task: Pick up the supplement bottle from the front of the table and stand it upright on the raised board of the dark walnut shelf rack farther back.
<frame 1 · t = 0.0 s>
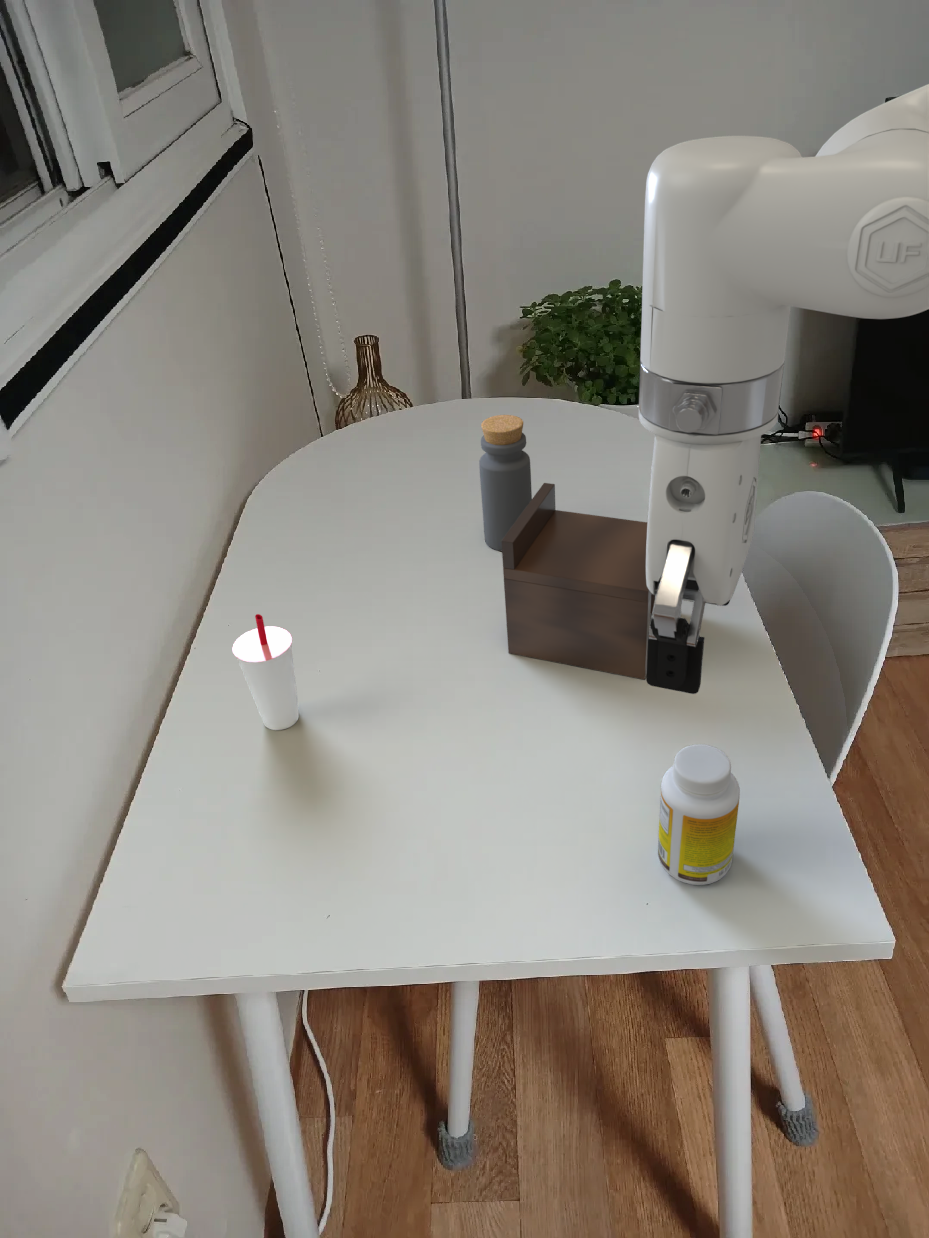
hand: (690, 641, 62), 21 cm above the table, tool pointing down, fingers open, 9 cm apart
shelf: (592, 631, 98), on the table
supplement bottle: (693, 861, 73), on the table
cup: (281, 719, 91), on the table
bottle: (509, 540, 115), on the table
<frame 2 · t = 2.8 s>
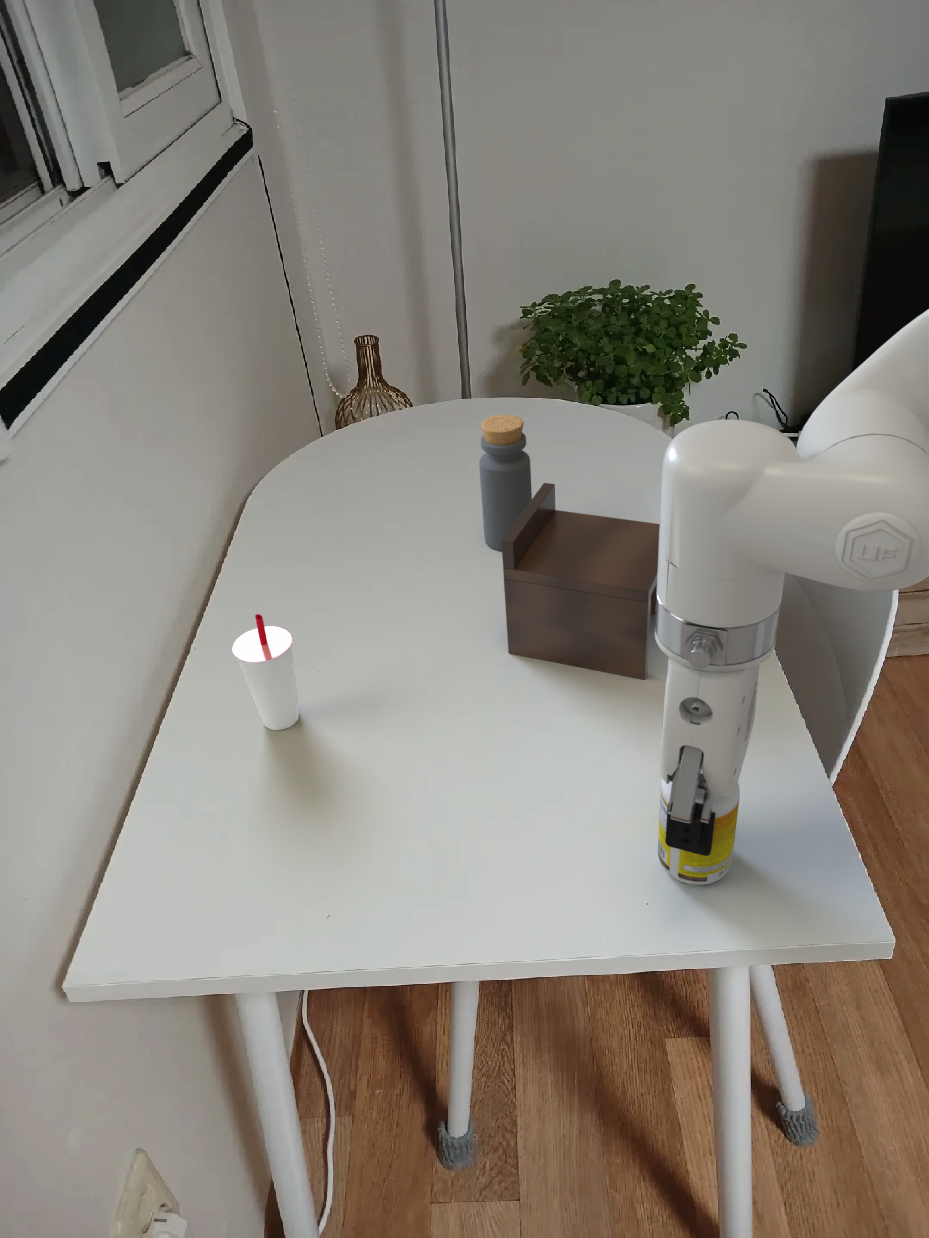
hand: (697, 814, 70), 5 cm above the table, tool pointing down, fingers closed on supplement bottle, 5 cm apart
supplement bottle: (693, 861, 73), on the table, touching gripper
everything else where it was.
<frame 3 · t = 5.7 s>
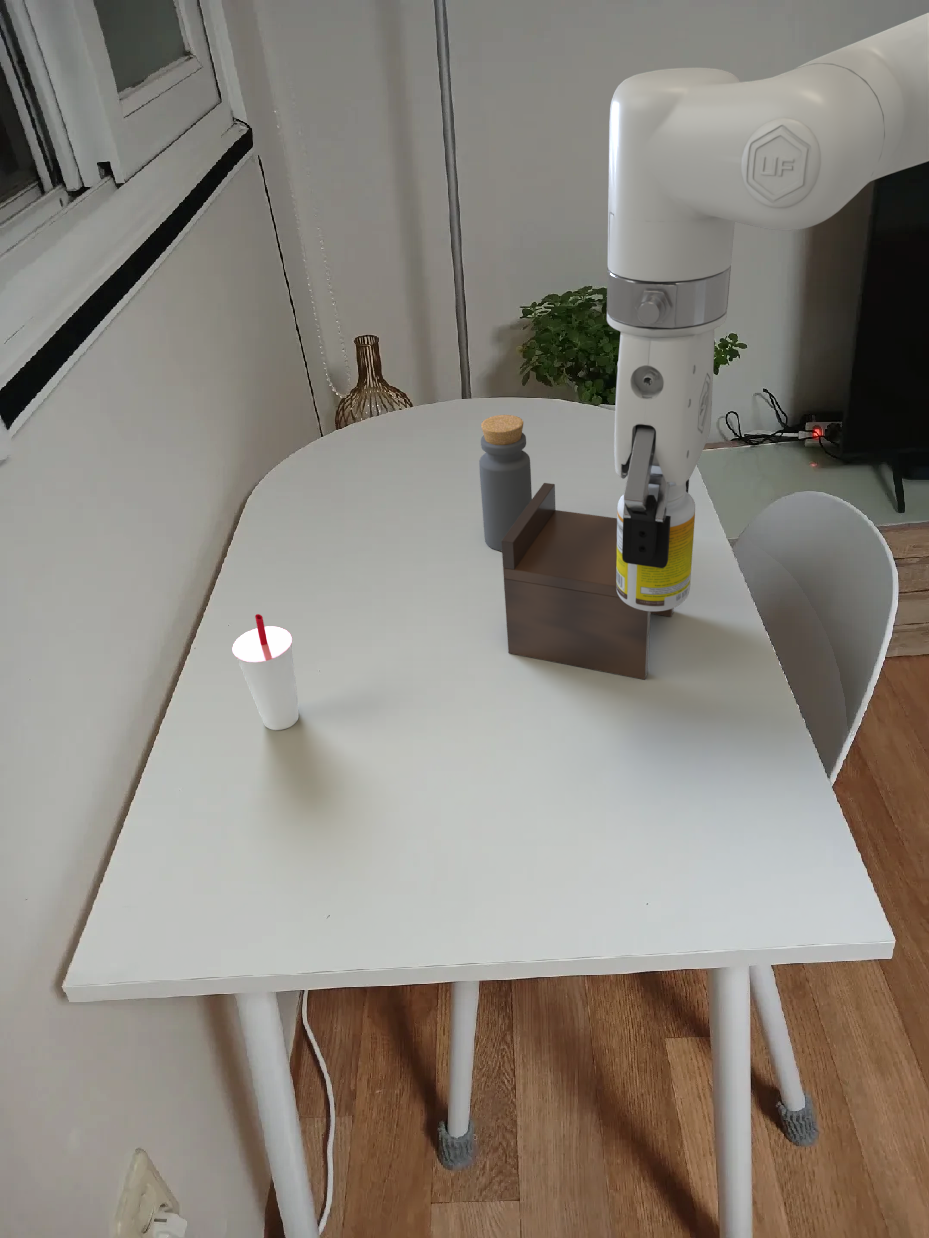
hand: (655, 539, 70), 22 cm above the table, tool pointing down, fingers closed on supplement bottle, 5 cm apart
supplement bottle: (652, 596, 73), point 17 cm above the table, touching gripper
everything else where it was.
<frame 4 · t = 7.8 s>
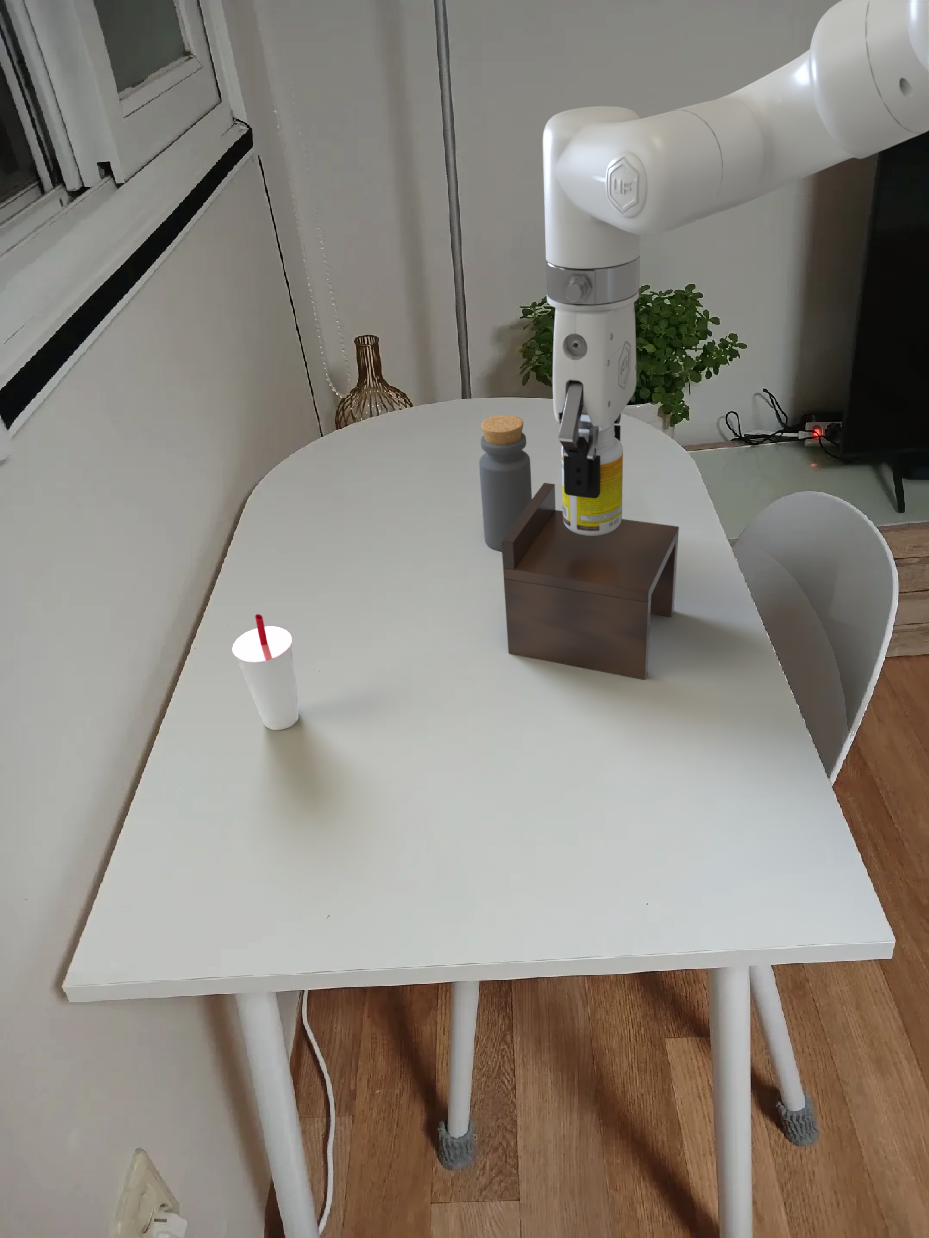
hand: (592, 477, 88), 18 cm above the table, tool pointing down, fingers closed on supplement bottle, 5 cm apart
supplement bottle: (592, 525, 91), point 13 cm above the table, touching gripper
everything else where it was.
when the fingers open (15 cm above the table, at t = 9.0 s): supplement bottle stays where it is, resting on shelf.
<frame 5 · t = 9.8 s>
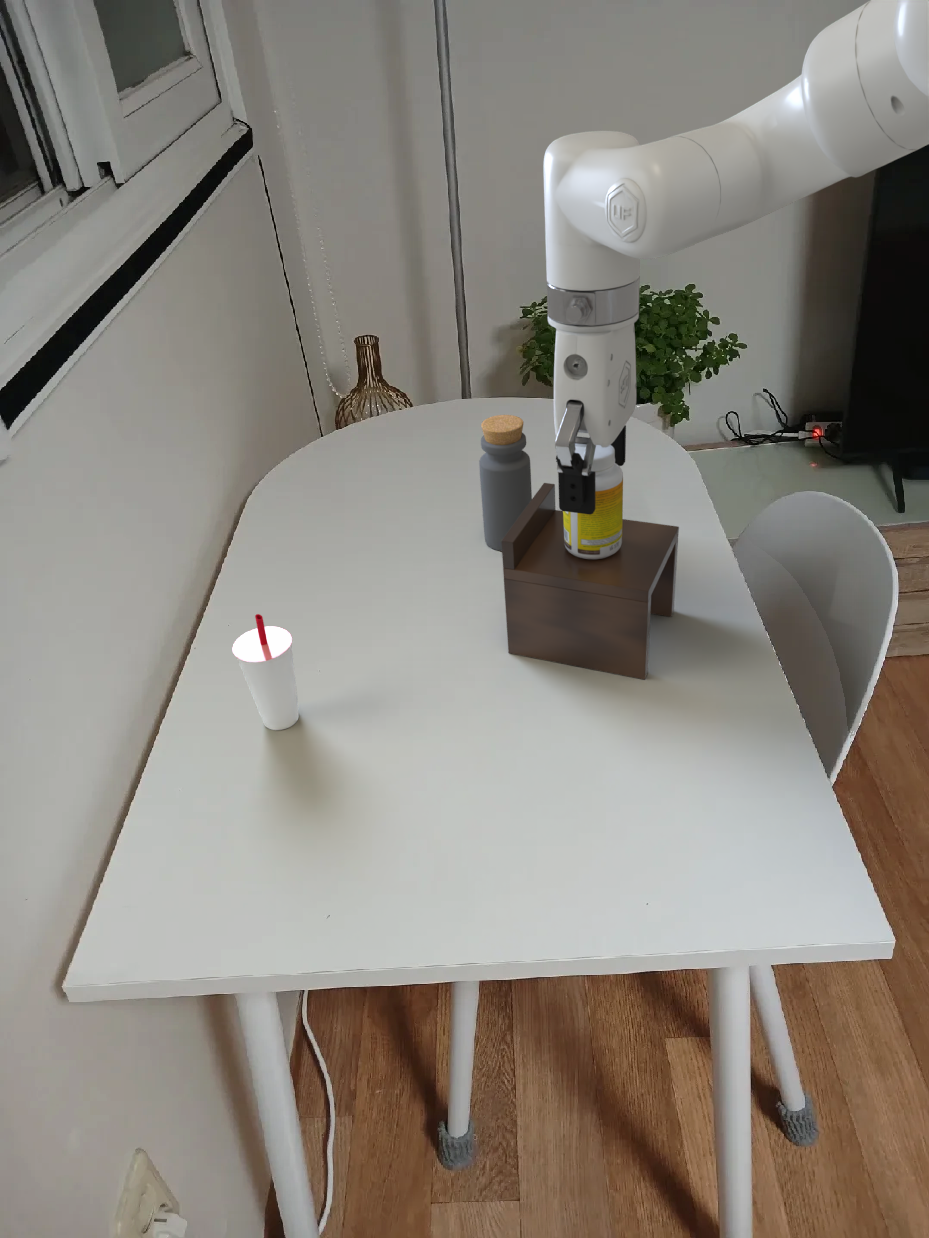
hand: (593, 486, 88), 17 cm above the table, tool pointing down, fingers open, 9 cm apart
supplement bottle: (592, 548, 92), point 10 cm above the table, touching shelf
everything else where it was.
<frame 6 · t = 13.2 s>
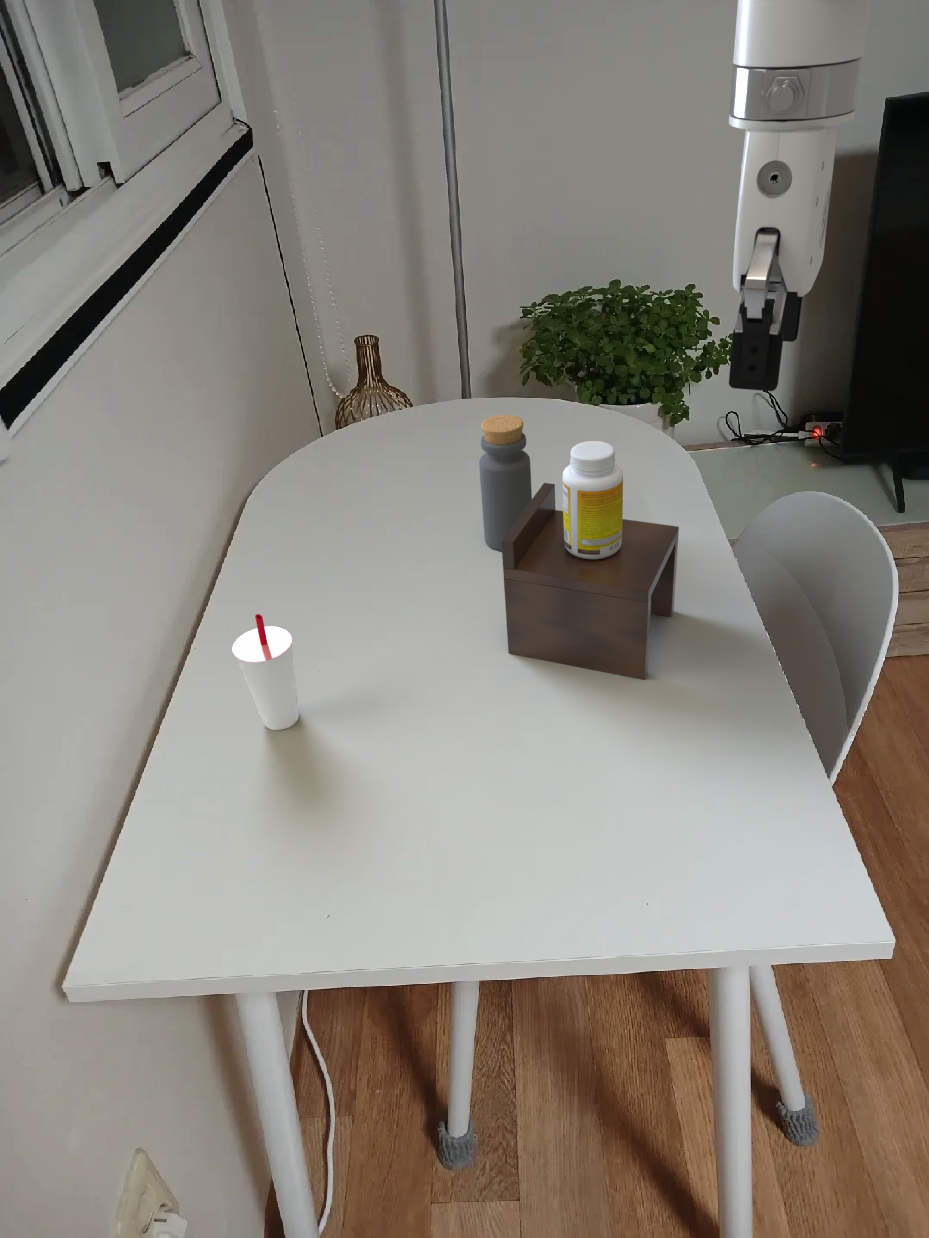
hand: (764, 362, 69), 32 cm above the table, tool pointing down, fingers open, 9 cm apart
nothing on the table moved.
at the end: supplement bottle inside the target area on the shelf (0.0 cm from its centre), point 10.0 cm above the shelf's base; supplement bottle tilted 0° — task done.
